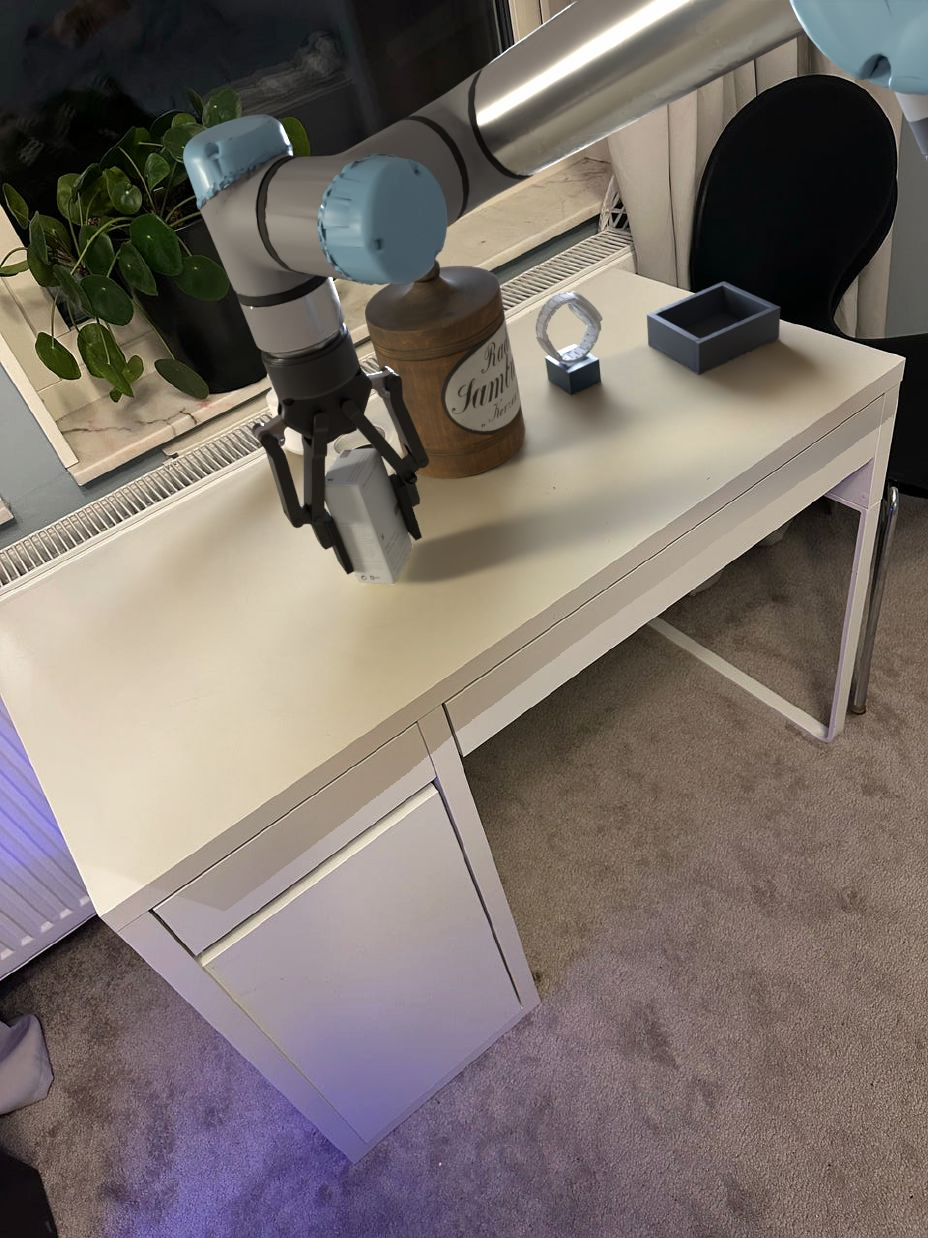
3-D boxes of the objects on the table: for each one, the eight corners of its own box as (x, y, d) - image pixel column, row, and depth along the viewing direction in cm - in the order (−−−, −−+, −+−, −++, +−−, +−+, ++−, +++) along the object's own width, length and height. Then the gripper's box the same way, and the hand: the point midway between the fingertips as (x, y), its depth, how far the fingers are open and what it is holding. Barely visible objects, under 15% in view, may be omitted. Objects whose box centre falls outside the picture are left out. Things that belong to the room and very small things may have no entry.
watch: (614, 375, 104) (607, 289, 97) (559, 401, 103) (547, 315, 95) (589, 360, 108) (580, 276, 101) (535, 384, 106) (522, 301, 99)
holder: (778, 339, 102) (780, 307, 100) (699, 375, 100) (698, 343, 98) (723, 311, 110) (723, 280, 107) (648, 344, 108) (646, 314, 105)
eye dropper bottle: (297, 463, 105) (262, 377, 96) (283, 445, 109) (248, 360, 100) (329, 449, 106) (296, 362, 97) (313, 431, 109) (281, 346, 101)
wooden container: (500, 484, 93) (460, 291, 78) (384, 475, 99) (325, 294, 84) (542, 409, 102) (514, 224, 87) (433, 405, 108) (388, 231, 93)
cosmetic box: (397, 585, 83) (361, 486, 75) (355, 584, 84) (316, 487, 76) (414, 544, 87) (383, 445, 79) (375, 544, 88) (339, 447, 80)
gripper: (391, 278, 73) (449, 490, 89) (178, 368, 69) (278, 574, 85) (428, 302, 68) (483, 524, 84) (199, 401, 64) (302, 614, 80)
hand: (380, 549), depth 84 cm, fingers closed on cosmetic box, 7 cm apart
